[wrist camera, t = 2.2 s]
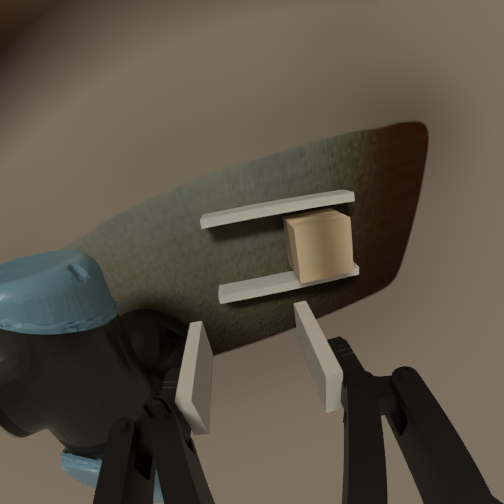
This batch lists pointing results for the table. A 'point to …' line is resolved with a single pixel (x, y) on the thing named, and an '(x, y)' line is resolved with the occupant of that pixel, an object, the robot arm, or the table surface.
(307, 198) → the channel
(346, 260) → the maple block
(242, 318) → the table surface
